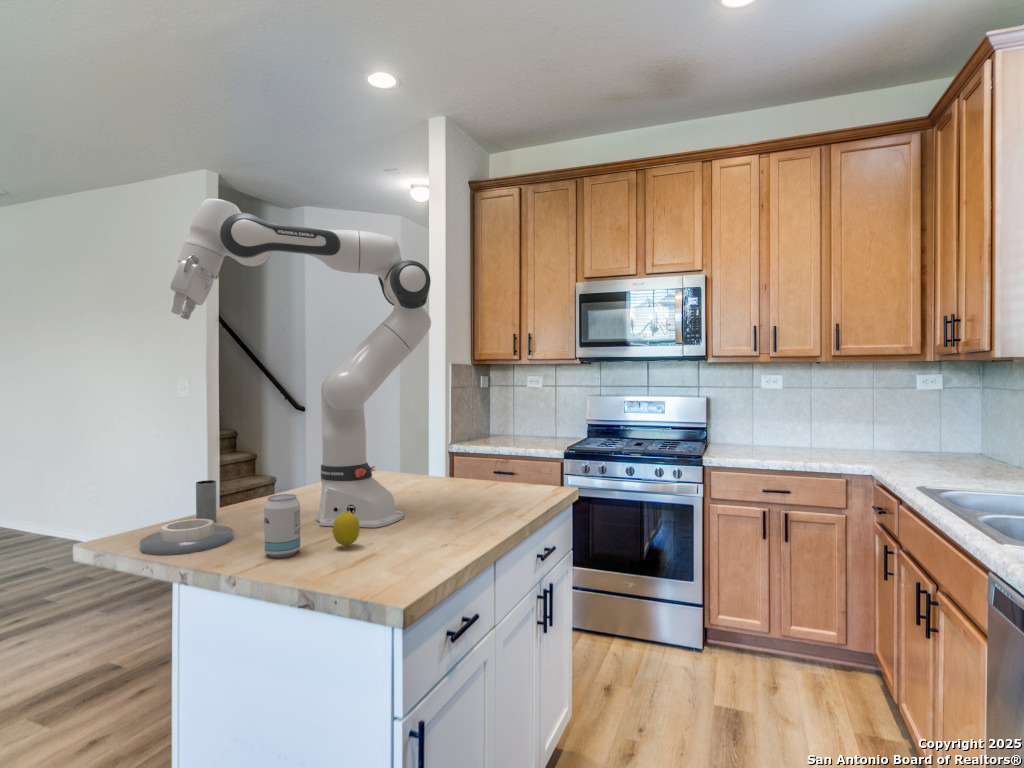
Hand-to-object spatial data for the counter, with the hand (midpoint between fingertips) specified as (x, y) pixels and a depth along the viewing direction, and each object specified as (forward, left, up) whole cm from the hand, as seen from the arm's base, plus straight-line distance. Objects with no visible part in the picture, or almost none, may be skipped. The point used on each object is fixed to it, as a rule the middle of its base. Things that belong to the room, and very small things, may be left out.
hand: (180, 316), depth 134 cm
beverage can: (-35, +6, -52) cm, 63 cm away
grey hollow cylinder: (+2, -9, -52) cm, 53 cm away
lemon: (-45, -2, -52) cm, 69 cm away
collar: (-9, +6, -52) cm, 53 cm away
